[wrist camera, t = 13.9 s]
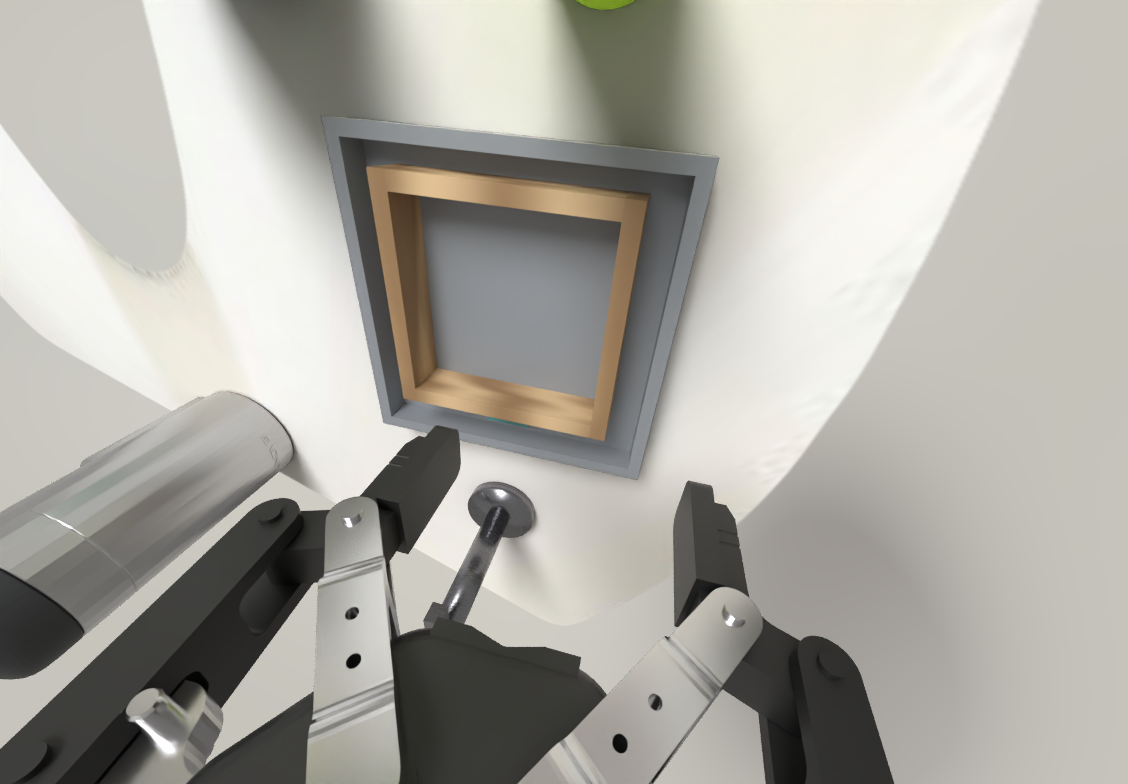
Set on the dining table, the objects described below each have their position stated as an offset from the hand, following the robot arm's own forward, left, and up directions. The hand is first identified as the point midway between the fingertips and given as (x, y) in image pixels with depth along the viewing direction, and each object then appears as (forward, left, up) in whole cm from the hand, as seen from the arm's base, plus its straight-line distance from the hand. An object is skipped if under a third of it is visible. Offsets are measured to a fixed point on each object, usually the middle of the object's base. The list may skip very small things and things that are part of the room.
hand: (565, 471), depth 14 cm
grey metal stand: (-7, -19, -14) cm, 25 cm away
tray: (-6, 0, -14) cm, 15 cm away
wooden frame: (-6, 0, -13) cm, 15 cm away
